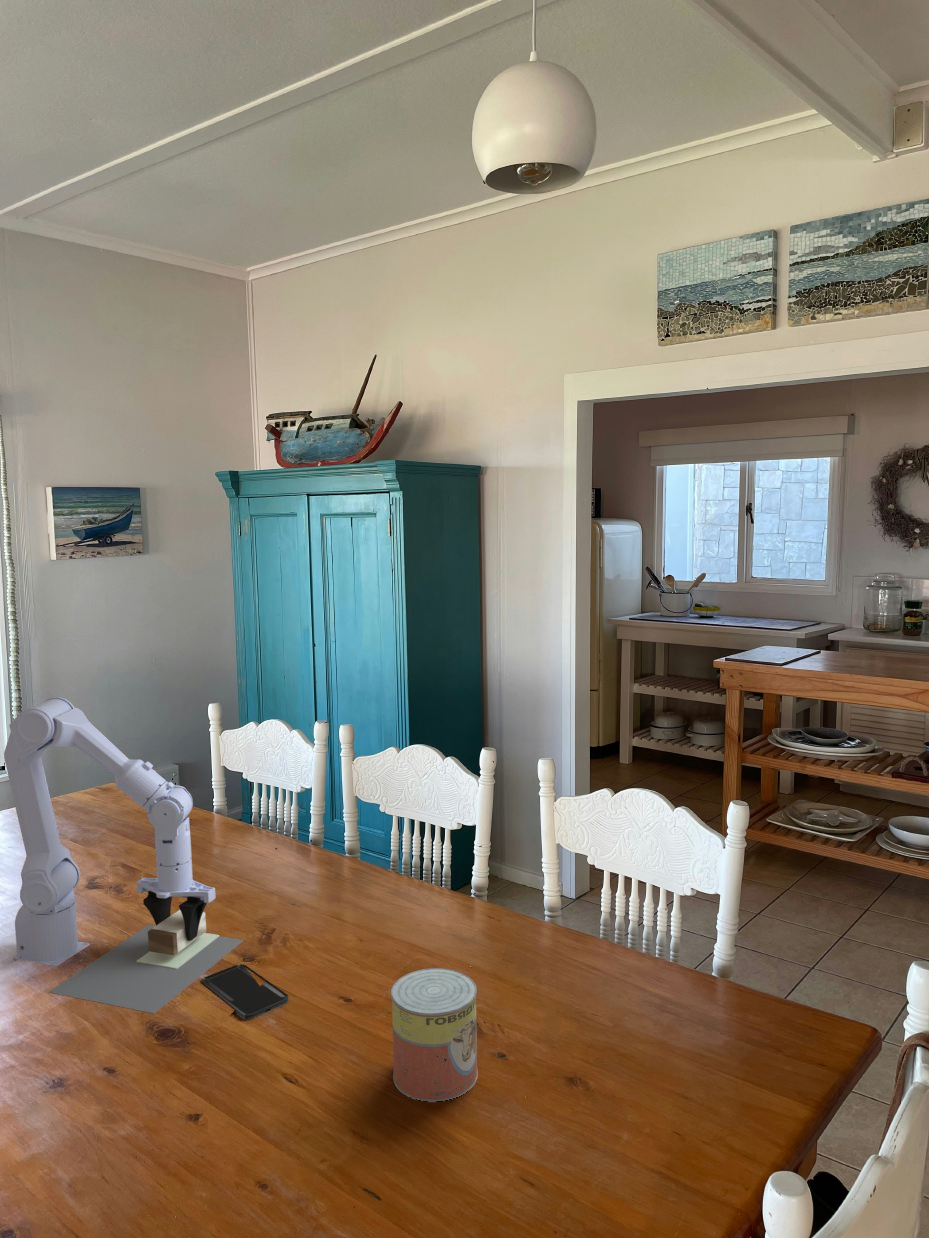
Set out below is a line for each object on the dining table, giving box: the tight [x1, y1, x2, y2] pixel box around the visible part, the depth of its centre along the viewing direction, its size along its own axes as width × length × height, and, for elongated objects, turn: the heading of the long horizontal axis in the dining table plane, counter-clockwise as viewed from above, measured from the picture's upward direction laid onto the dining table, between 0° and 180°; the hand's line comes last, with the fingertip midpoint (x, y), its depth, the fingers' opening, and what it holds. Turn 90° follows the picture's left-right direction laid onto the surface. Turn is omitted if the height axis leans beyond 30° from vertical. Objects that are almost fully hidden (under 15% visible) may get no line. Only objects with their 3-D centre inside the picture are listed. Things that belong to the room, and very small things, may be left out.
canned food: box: [390, 967, 479, 1103], centre depth 118 cm, size 11×11×12 cm
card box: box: [148, 909, 207, 956], centre depth 152 cm, size 9×5×4 cm, turn 161°
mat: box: [48, 924, 244, 1014], centre depth 147 cm, size 20×24×1 cm
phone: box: [200, 963, 289, 1021], centre depth 139 cm, size 8×1×15 cm
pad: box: [136, 932, 220, 969], centre depth 153 cm, size 12×8×1 cm, turn 161°
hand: (178, 935), depth 152 cm, fingers closed on card box, 5 cm apart
